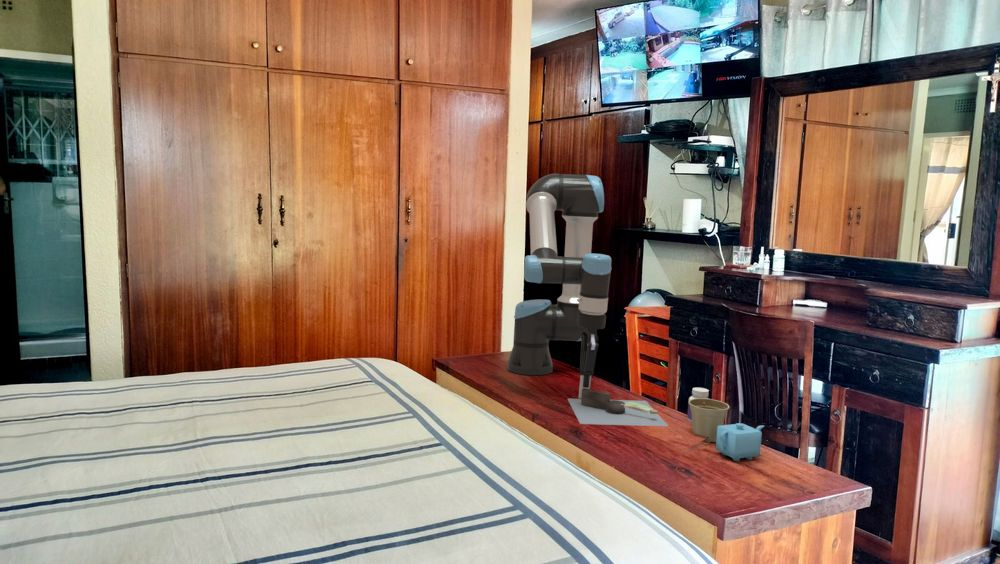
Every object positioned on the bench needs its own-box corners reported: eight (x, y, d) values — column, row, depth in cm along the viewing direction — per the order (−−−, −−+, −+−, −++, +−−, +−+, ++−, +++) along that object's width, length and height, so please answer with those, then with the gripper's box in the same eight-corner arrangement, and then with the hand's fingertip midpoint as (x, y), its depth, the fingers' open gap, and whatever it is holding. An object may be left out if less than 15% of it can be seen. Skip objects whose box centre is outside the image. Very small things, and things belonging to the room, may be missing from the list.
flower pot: (729, 447, 158) (732, 411, 157) (687, 443, 159) (690, 407, 158) (724, 434, 167) (726, 400, 166) (684, 430, 169) (687, 396, 168)
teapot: (752, 449, 157) (755, 417, 156) (771, 458, 152) (774, 425, 151) (709, 453, 153) (712, 421, 152) (727, 463, 147) (730, 430, 146)
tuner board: (567, 403, 187) (567, 397, 187) (645, 406, 188) (646, 400, 188) (579, 429, 165) (580, 423, 165) (668, 432, 167) (669, 425, 166)
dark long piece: (660, 416, 173) (661, 401, 172) (653, 421, 169) (654, 406, 168) (586, 401, 184) (587, 387, 184) (578, 405, 180) (579, 390, 179)
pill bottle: (696, 431, 168) (699, 393, 167) (682, 424, 173) (684, 387, 172) (713, 428, 171) (716, 391, 170) (698, 422, 176) (701, 385, 175)
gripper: (574, 307, 186) (566, 390, 189) (581, 315, 173) (573, 404, 176) (601, 308, 186) (593, 391, 189) (610, 317, 173) (601, 406, 177)
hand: (583, 397), depth 183 cm, fingers closed
